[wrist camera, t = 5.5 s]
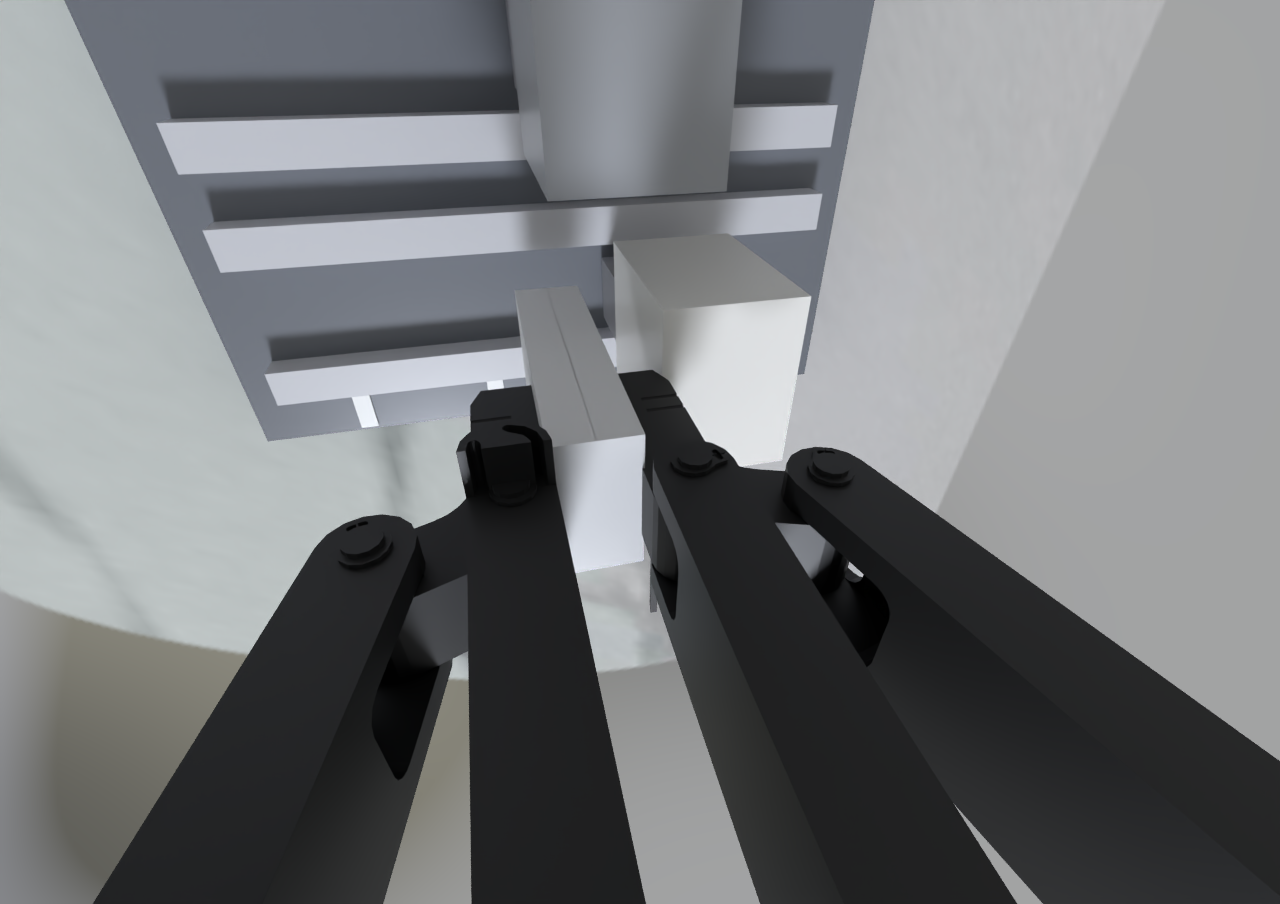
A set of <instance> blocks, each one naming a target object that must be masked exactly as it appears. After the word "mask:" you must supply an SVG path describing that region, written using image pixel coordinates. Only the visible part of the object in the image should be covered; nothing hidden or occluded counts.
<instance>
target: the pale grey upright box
mask: <svg viewBox="0 0 1280 904" xmlns="http://www.w3.org/2000/svg"><path fill="white" fill-rule="evenodd" d="M505 2H506V12H507V21H508V30H509V39H510V49H511V58H512V67H513V77H514V86H515V88H516V89H517V94H518V104H519V113H520V122H521V132H522V141H523V151H524V156H525V158H526V159H527V161H528V163H529V165H530V167H531V169H532V171H533V173H534V175H535V177H536V179H537V181H538V183H539V185H540V187H541V189H542V191H543V193H544V195H545V197H546V199H547V201H564V200H582V199H600V198H618V197H635V196H653V195H671V194H688V193H706V192H724V191H727V180H728V168H729V156H730V144H731V132H732V119H733V107H734V95H735V83H736V71H737V59H738V47H739V35H740V23H741V11H742V0H505Z"/></svg>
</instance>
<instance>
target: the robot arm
mask: <svg viewBox="0 0 1280 904" xmlns="http://www.w3.org/2000/svg"><path fill="white" fill-rule="evenodd" d="M515 298H516V306H517V314H518V322H519V330H520V338H521V346H522V354H523V362H524V370H525V378H526V386H519V387H510V388H501V389H493V390H484V391H480V392H479V394H478V395H477V397H476V398H475V399H474V401H473V402H472V404H471V405H470V421H471V432H470V433H468V434H467V435H466V436H465V437H464V438H463V439H462V440H461V441H460V443H459V446H458V448H457V451H456V454H457V458H458V463H459V467H460V472H461V476H462V480H463V485H464V489H465V494H466V500H465V501H464V502H463V503H462V504H461V505H460V506H459V507H458V508H456V509H455V510H454V511H452V512H451V513H449V514H448V515H446V516H444V517H442V518H440V519H438V520H435V521H433V522H431V523H428V524H425V525H423V526H420V527H418V528H415V529H414V528H413V526H412V524H411V523H409V522H407V521H406V520H404V519H402V518H400V517H397V516H390V515H383V514H382V515H374V516H366V517H362V518H359V519H356V520H353V521H350V522H348V523H345V524H343V525H341V526H340V527H338V528H337V529H335V530H333V531H332V532H330V533H329V534H327V535H326V536H325V537H324V538H323V540H322V541H321V542H320V543H319V544H318V545H317V546H316V547H315V549H314V550H313V552H312V553H311V555H310V557H309V558H308V560H307V561H306V563H305V565H304V566H303V568H302V569H301V571H300V573H299V574H298V576H297V577H296V579H295V581H294V582H293V584H292V585H291V587H290V589H289V590H288V592H287V593H286V595H285V597H284V598H283V600H282V601H281V603H280V605H279V606H278V608H277V609H276V611H275V613H274V614H273V616H272V617H271V619H270V621H269V622H268V624H267V626H266V627H265V629H264V630H263V632H262V634H261V635H260V637H259V638H258V640H257V642H256V643H255V645H254V646H253V648H252V650H251V651H250V653H249V654H248V656H247V658H246V659H245V661H244V662H243V664H242V666H241V667H240V669H239V670H238V672H237V674H236V675H235V677H234V679H233V680H232V682H231V683H230V685H229V686H228V688H227V690H226V691H225V693H224V695H223V696H222V698H221V699H220V701H219V702H218V704H217V706H216V707H215V709H214V710H213V712H212V714H211V715H210V717H209V719H208V720H207V722H206V723H205V725H204V727H203V728H202V730H201V731H200V733H199V734H198V736H197V738H196V739H195V741H194V743H193V744H192V746H191V747H190V749H189V751H188V752H187V754H186V755H185V757H184V759H183V760H182V762H181V763H180V765H179V767H178V768H177V770H176V772H175V773H174V775H173V776H172V778H171V779H170V781H169V783H168V784H167V786H166V788H165V789H164V791H163V792H162V794H161V795H160V797H159V799H158V800H157V802H156V803H155V805H154V807H153V808H152V810H151V811H150V813H149V815H148V816H147V818H146V820H145V821H144V823H143V824H142V826H141V827H140V829H139V831H138V832H137V834H136V836H135V837H134V839H133V840H132V842H131V843H130V845H129V847H128V848H127V850H126V851H125V853H124V855H123V856H122V858H121V860H120V861H119V863H118V864H117V866H116V868H115V869H114V871H113V872H112V874H111V876H110V877H109V879H108V880H107V882H106V884H105V885H104V887H103V888H102V890H101V892H100V893H99V895H98V896H97V898H96V900H95V901H94V903H93V904H383V902H384V899H385V895H386V892H387V888H388V885H389V881H390V878H391V875H392V871H393V868H394V864H395V861H396V857H397V854H398V850H399V847H400V843H401V840H402V836H403V833H404V830H405V826H406V823H407V819H408V816H409V813H410V809H411V805H412V802H413V799H414V795H415V792H416V788H417V785H418V781H419V778H420V774H421V771H422V768H423V764H424V760H425V757H426V754H427V750H428V747H429V744H430V740H431V737H432V733H433V730H434V726H435V722H436V719H437V716H438V713H439V709H440V705H441V702H442V699H443V695H444V692H445V688H446V685H447V682H448V678H449V675H450V671H451V668H452V659H453V658H455V657H457V656H459V655H461V654H463V653H465V652H467V651H468V663H469V733H470V734H469V737H470V738H469V739H470V811H471V812H470V816H471V887H472V888H471V894H472V904H646V902H645V898H644V893H643V889H642V883H641V879H640V874H639V870H638V865H637V860H636V855H635V851H634V846H633V841H632V837H631V832H630V827H629V822H628V818H627V813H626V808H625V804H624V799H623V794H622V790H621V785H620V780H619V776H618V771H617V766H616V761H615V757H614V752H613V747H612V743H611V738H610V733H609V729H608V724H607V719H606V714H605V710H604V705H603V700H602V696H601V691H600V686H599V682H598V677H597V672H596V668H595V663H594V658H593V653H592V649H591V644H590V639H589V635H588V630H587V625H586V621H585V616H584V611H583V607H582V602H581V597H580V592H579V588H578V583H577V578H576V574H575V573H578V572H583V571H589V570H595V569H600V568H606V567H611V566H617V565H622V564H628V563H633V562H639V561H644V542H645V544H646V547H647V550H648V553H649V556H650V558H651V570H650V612H651V613H652V612H657V602H658V605H659V608H660V611H661V614H662V617H663V620H664V622H665V625H666V628H667V631H668V634H669V637H670V640H671V643H672V646H673V649H674V652H675V655H676V658H677V661H678V664H679V667H680V669H681V672H682V675H683V678H684V681H685V684H686V687H687V690H688V693H689V696H690V699H691V702H692V705H693V708H694V711H695V713H696V716H697V719H698V722H699V725H700V728H701V731H702V734H703V737H704V740H705V743H706V746H707V749H708V752H709V755H710V757H711V761H712V764H713V766H714V769H715V772H716V775H717V778H718V781H719V784H720V787H721V790H722V793H723V796H724V798H725V801H726V805H727V808H728V811H729V813H730V816H731V819H732V822H733V825H734V828H735V831H736V834H737V837H738V840H739V843H740V846H741V849H742V852H743V855H744V858H745V861H746V863H747V866H748V869H749V872H750V875H751V878H752V881H753V884H754V887H755V890H756V893H757V896H758V898H759V902H760V904H1017V903H1016V901H1015V900H1014V898H1013V897H1012V895H1011V894H1010V892H1009V890H1008V889H1007V887H1006V886H1005V884H1004V882H1003V881H1002V879H1001V878H1000V876H999V875H998V873H997V871H996V870H995V868H994V867H993V865H992V864H991V862H990V860H989V859H988V857H987V856H986V854H985V852H984V851H983V849H982V848H981V846H980V845H979V843H978V841H977V840H976V838H975V837H974V835H973V834H972V832H971V830H970V829H969V827H968V826H967V824H966V823H965V821H964V819H963V818H962V816H961V815H960V813H959V812H958V810H957V808H958V809H959V810H960V811H961V812H962V813H963V814H964V816H965V817H966V818H967V819H968V820H969V821H970V822H971V823H972V824H973V826H974V827H975V828H976V829H977V830H978V831H979V832H980V833H981V835H982V836H983V837H984V838H985V839H986V840H987V841H988V842H989V843H990V845H991V846H992V847H993V848H994V849H995V850H996V851H997V853H998V854H999V855H1000V856H1001V857H1002V858H1003V859H1004V860H1005V861H1006V863H1007V864H1008V865H1009V866H1010V867H1011V868H1012V869H1013V871H1014V872H1015V873H1016V874H1017V875H1018V876H1019V877H1020V878H1021V879H1022V881H1023V882H1024V883H1025V884H1026V885H1027V886H1028V887H1029V888H1030V890H1031V891H1032V892H1033V893H1034V894H1035V895H1036V896H1037V897H1038V899H1039V900H1040V901H1041V902H1042V903H1043V904H1280V761H1279V760H1277V759H1276V758H1274V757H1273V756H1272V755H1270V754H1269V753H1268V752H1266V751H1265V750H1263V749H1262V748H1261V747H1259V746H1258V745H1257V744H1255V743H1254V742H1252V741H1251V740H1249V739H1248V738H1247V737H1245V736H1244V735H1243V734H1241V733H1239V732H1238V731H1237V730H1236V729H1234V728H1233V727H1232V726H1230V725H1228V724H1227V723H1226V722H1225V721H1223V720H1222V719H1220V718H1219V717H1218V716H1216V715H1215V714H1213V713H1212V712H1211V711H1209V710H1208V709H1206V708H1205V707H1204V706H1202V705H1201V704H1199V703H1198V702H1197V701H1195V700H1194V699H1193V698H1191V697H1190V696H1188V695H1187V694H1186V693H1184V692H1183V691H1181V690H1180V689H1179V688H1177V687H1176V686H1175V685H1173V684H1172V683H1170V682H1169V681H1168V680H1166V679H1165V678H1163V677H1162V676H1161V675H1159V674H1158V673H1156V672H1155V671H1154V670H1152V669H1151V668H1150V667H1148V666H1147V665H1145V664H1144V663H1142V662H1141V661H1140V660H1138V659H1137V658H1136V657H1134V656H1133V655H1131V654H1130V653H1129V652H1127V651H1126V650H1125V649H1123V648H1122V647H1120V646H1119V645H1118V644H1116V643H1115V642H1113V641H1112V640H1111V639H1109V638H1108V637H1106V636H1105V635H1104V634H1102V633H1101V632H1099V631H1098V630H1097V629H1095V628H1094V627H1093V626H1091V625H1090V624H1088V623H1087V622H1086V621H1084V620H1083V619H1081V618H1080V617H1079V616H1077V615H1076V614H1075V613H1073V612H1072V611H1070V610H1069V609H1068V608H1066V607H1065V606H1063V605H1062V604H1060V603H1059V602H1058V601H1056V600H1055V599H1053V598H1052V597H1051V596H1049V595H1048V594H1047V593H1045V592H1044V591H1043V590H1041V589H1040V588H1038V587H1037V586H1036V585H1034V584H1033V583H1031V582H1030V581H1029V580H1027V579H1026V578H1024V577H1023V576H1022V575H1020V574H1019V573H1018V572H1016V571H1015V570H1013V569H1012V568H1011V567H1009V566H1008V565H1006V564H1005V563H1004V562H1002V561H1001V560H999V559H998V558H997V557H995V556H994V555H993V554H991V553H990V552H988V551H987V550H986V549H984V548H983V547H981V546H980V545H979V544H977V543H976V542H974V541H973V540H972V539H970V538H969V537H967V536H966V535H965V534H963V533H962V532H961V531H959V530H958V529H956V528H955V527H954V526H952V525H951V524H949V523H948V522H947V521H945V520H944V519H942V518H941V517H940V516H938V515H937V514H936V513H934V512H933V511H931V510H930V509H929V508H927V507H926V506H924V505H923V504H922V503H920V502H919V501H917V500H916V499H915V498H913V497H912V496H911V495H909V494H908V493H906V492H905V491H904V490H902V489H901V488H899V487H898V486H897V485H895V484H894V483H892V482H891V481H890V480H888V479H887V478H886V477H884V476H883V475H881V474H880V473H879V472H877V471H876V470H874V469H873V468H872V467H870V466H869V465H867V464H866V463H865V462H863V461H862V460H860V459H858V458H857V457H855V456H853V455H851V454H849V453H847V452H844V451H840V450H837V449H833V448H823V447H813V448H807V449H802V450H800V451H798V452H796V453H794V454H793V455H791V457H790V458H789V460H788V462H787V464H786V469H785V471H773V470H758V469H750V468H744V467H740V466H739V465H738V464H737V462H736V461H735V459H734V458H733V457H732V456H731V455H730V454H729V453H728V452H727V451H726V450H725V449H724V448H722V447H720V446H718V445H716V444H713V443H710V442H705V440H704V438H703V437H702V435H701V433H700V432H699V430H698V428H697V427H696V425H695V423H694V422H693V420H692V418H691V417H690V415H689V413H688V412H687V410H686V408H685V407H683V403H682V402H681V400H680V398H679V397H678V396H677V393H676V392H675V390H674V388H673V386H672V385H671V383H670V381H669V380H668V379H666V378H665V377H663V376H661V375H660V374H658V373H657V372H655V371H654V370H645V371H636V372H627V373H617V371H616V369H615V367H614V365H613V363H612V360H611V358H610V356H609V354H608V352H607V349H606V347H605V345H604V343H603V341H602V338H601V336H600V334H599V332H598V330H597V328H596V325H595V323H594V321H593V319H592V317H591V314H590V312H589V310H588V308H587V306H586V303H585V301H584V299H583V297H582V295H581V292H580V290H579V288H578V286H566V287H554V288H541V289H529V290H517V291H515ZM849 561H850V562H851V563H852V564H853V565H854V566H855V567H856V568H857V569H858V570H859V571H861V572H862V573H863V574H864V575H863V577H859V576H858V575H856V574H855V573H853V572H852V571H851V570H850V569H849V568H848V565H849ZM953 803H954V804H955V805H956V807H957V808H956V807H955V805H954V804H953Z"/></svg>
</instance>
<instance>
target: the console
mask: <svg viewBox="0 0 1280 904" xmlns="http://www.w3.org/2000/svg"><path fill="white" fill-rule="evenodd" d="M874 1H875V0H742V11H741V23H740V35H739V47H738V59H737V71H736V83H735V95H734V107H733V119H732V132H731V144H730V156H729V168H728V180H727V191H724V192H706V193H688V194H671V195H653V196H635V197H618V198H600V199H582V200H564V201H547V199H546V197H545V195H544V193H543V191H542V189H541V187H540V185H539V183H538V181H537V179H536V177H535V175H534V173H533V171H532V169H531V167H530V165H529V163H528V161H527V159H526V158H525V156H524V151H523V141H522V132H521V122H520V113H519V104H518V94H517V89H516V88H515V86H514V77H513V67H512V58H511V49H510V39H509V30H508V21H507V12H506V2H505V0H65V3H66V5H67V7H68V9H69V11H70V13H71V16H72V18H73V20H74V22H75V24H76V26H77V29H78V31H79V33H80V35H81V37H82V39H83V42H84V44H85V46H86V48H87V50H88V52H89V55H90V57H91V59H92V61H93V63H94V65H95V68H96V70H97V72H98V74H99V76H100V78H101V81H102V83H103V85H104V87H105V89H106V91H107V94H108V96H109V98H110V100H111V102H112V104H113V107H114V109H115V111H116V113H117V115H118V117H119V120H120V122H121V124H122V126H123V128H124V130H125V133H126V135H127V137H128V139H129V141H130V143H131V146H132V148H133V150H134V152H135V154H136V156H137V159H138V161H139V163H140V165H141V167H142V169H143V172H144V174H145V176H146V178H147V180H148V182H149V185H150V187H151V189H152V191H153V193H154V195H155V198H156V200H157V202H158V204H159V206H160V208H161V211H162V213H163V215H164V217H165V219H166V221H167V224H168V226H169V228H170V230H171V232H172V234H173V237H174V239H175V241H176V243H177V245H178V247H179V250H180V252H181V254H182V256H183V258H184V260H185V263H186V265H187V267H188V269H189V271H190V273H191V276H192V278H193V280H194V282H195V284H196V286H197V289H198V291H199V293H200V295H201V297H202V299H203V302H204V304H205V306H206V308H207V310H208V312H209V315H210V317H211V319H212V321H213V323H214V325H215V328H216V330H217V332H218V334H219V336H220V338H221V341H222V343H223V345H224V347H225V349H226V351H227V354H228V356H229V358H230V360H231V362H232V364H233V367H234V369H235V371H236V373H237V375H238V377H239V380H240V382H241V384H242V386H243V388H244V390H245V393H246V395H247V397H248V399H249V401H250V403H251V406H252V408H253V410H254V412H255V414H256V416H257V418H258V421H259V423H260V425H261V427H262V429H263V431H264V434H265V436H266V438H267V440H268V441H274V440H282V439H290V438H298V437H306V436H314V435H322V434H330V433H338V432H346V431H353V430H361V429H369V428H377V427H385V426H393V425H401V424H409V423H417V422H425V421H433V420H441V419H449V418H457V417H465V416H470V405H471V404H472V402H473V401H474V399H475V398H476V397H477V395H478V394H479V392H480V391H484V390H493V389H501V388H510V387H519V386H526V378H525V370H524V362H523V354H522V346H521V338H520V330H519V322H518V314H517V306H516V298H515V291H517V290H529V289H541V288H554V287H566V286H578V288H579V290H580V292H581V295H582V297H583V299H584V301H585V303H586V306H587V308H588V310H589V312H590V314H591V317H592V319H593V321H594V323H595V325H596V328H597V330H598V332H599V334H600V336H601V338H602V341H603V343H604V345H605V347H606V349H607V352H608V354H609V356H610V358H611V360H612V363H613V365H614V367H615V369H616V371H617V360H616V340H615V338H614V336H613V334H612V332H611V330H610V328H609V326H608V324H607V322H606V320H605V318H604V310H603V284H602V258H603V257H614V244H613V241H627V240H641V239H655V238H669V237H683V236H697V235H711V234H725V233H728V234H730V235H731V236H732V237H734V238H735V239H736V240H738V241H739V242H740V243H742V244H743V245H744V246H746V247H747V248H748V249H750V250H751V251H752V252H754V253H755V254H756V255H758V256H759V257H760V258H762V259H763V260H764V261H765V262H767V263H768V264H769V265H771V266H772V267H773V268H775V269H776V270H777V271H779V272H780V273H781V274H783V275H784V276H785V277H787V278H788V279H789V280H791V281H792V282H793V283H795V284H796V285H797V286H799V287H800V288H801V289H803V290H804V291H805V292H807V293H808V294H809V295H811V302H810V307H809V313H808V318H807V324H806V329H805V335H804V340H803V346H802V351H801V357H800V362H799V368H798V374H797V375H799V374H804V371H805V366H806V361H807V355H808V350H809V345H810V340H811V334H812V329H813V324H814V318H815V313H816V308H817V302H818V297H819V292H820V287H821V281H822V276H823V271H824V265H825V260H826V255H827V249H828V244H829V239H830V234H831V228H832V223H833V218H834V212H835V207H836V202H837V197H838V191H839V186H840V181H841V175H842V170H843V165H844V159H845V154H846V149H847V144H848V138H849V133H850V128H851V122H852V117H853V112H854V106H855V101H856V96H857V91H858V85H859V80H860V75H861V69H862V64H863V59H864V54H865V48H866V43H867V38H868V32H869V27H870V22H871V16H872V11H873V6H874Z"/></svg>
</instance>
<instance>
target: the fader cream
mask: <svg viewBox="0 0 1280 904" xmlns="http://www.w3.org/2000/svg"><path fill="white" fill-rule="evenodd" d="M613 244H614V257H603V258H602V284H603V310H604V318H605V320H606V322H607V324H608V326H609V328H610V330H611V332H612V334H613V336H614V338H615V340H616V360H617V373H627V372H636V371H645V370H654V371H655V372H657V373H658V374H660V375H661V376H663V377H665V378H666V379H668V380H669V381H670V383H671V385H672V386H673V388H674V390H675V392H676V393H677V396H678V397H679V398H680V400H681V402H682V403H683V407H685V408H686V410H687V412H688V413H689V415H690V417H691V418H692V420H693V422H694V423H695V425H696V427H697V428H698V430H699V432H700V433H701V435H702V437H703V438H704V440H705V442H710V443H713V444H716V445H718V446H720V447H722V448H724V449H725V450H726V451H727V452H728V453H729V454H730V455H731V456H732V457H733V458H734V459H735V461H736V462H737V464H738V465H739V466H740V467H743V466H749V465H755V464H762V463H768V462H775V461H781V460H782V456H783V451H784V445H785V440H786V434H787V429H788V423H789V418H790V412H791V407H792V401H793V396H794V390H795V385H796V379H797V374H798V368H799V362H800V357H801V351H802V346H803V340H804V335H805V329H806V324H807V318H808V313H809V307H810V302H811V295H809V294H808V293H807V292H805V291H804V290H803V289H801V288H800V287H799V286H797V285H796V284H795V283H793V282H792V281H791V280H789V279H788V278H787V277H785V276H784V275H783V274H781V273H780V272H779V271H777V270H776V269H775V268H773V267H772V266H771V265H769V264H768V263H767V262H765V261H764V260H763V259H762V258H760V257H759V256H758V255H756V254H755V253H754V252H752V251H751V250H750V249H748V248H747V247H746V246H744V245H743V244H742V243H740V242H739V241H738V240H736V239H735V238H734V237H732V236H731V235H730V234H728V233H725V234H711V235H697V236H683V237H669V238H655V239H641V240H627V241H613Z"/></svg>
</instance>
